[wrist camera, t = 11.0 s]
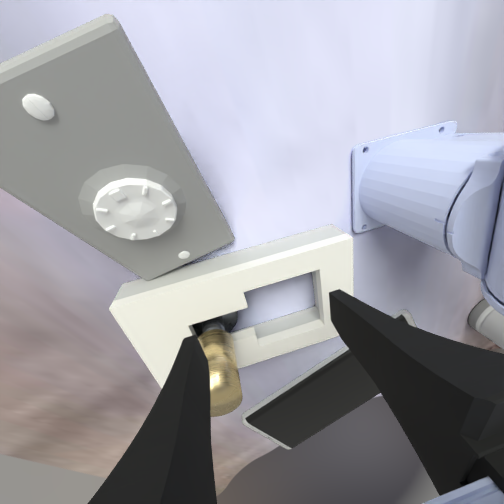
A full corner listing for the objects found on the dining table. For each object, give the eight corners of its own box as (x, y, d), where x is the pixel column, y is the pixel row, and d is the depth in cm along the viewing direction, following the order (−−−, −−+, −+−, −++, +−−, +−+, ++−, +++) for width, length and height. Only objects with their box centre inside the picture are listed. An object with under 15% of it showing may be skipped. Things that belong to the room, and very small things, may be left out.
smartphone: (424, 352, 37) (434, 361, 35) (285, 440, 39) (288, 452, 38) (400, 303, 30) (411, 312, 29) (238, 412, 33) (240, 425, 32)
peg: (239, 291, 24) (261, 375, 15) (230, 328, 25) (245, 421, 17) (190, 288, 22) (185, 378, 14) (185, 326, 24) (177, 426, 16)
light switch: (148, 291, 20) (-124, 133, 8) (141, 240, 23) (-56, 72, 11) (239, 249, 20) (114, 22, 8) (220, 204, 23) (111, -6, 11)
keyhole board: (331, 224, 22) (353, 237, 19) (336, 309, 27) (353, 331, 24) (122, 283, 21) (108, 309, 18) (169, 362, 26) (164, 392, 23)
